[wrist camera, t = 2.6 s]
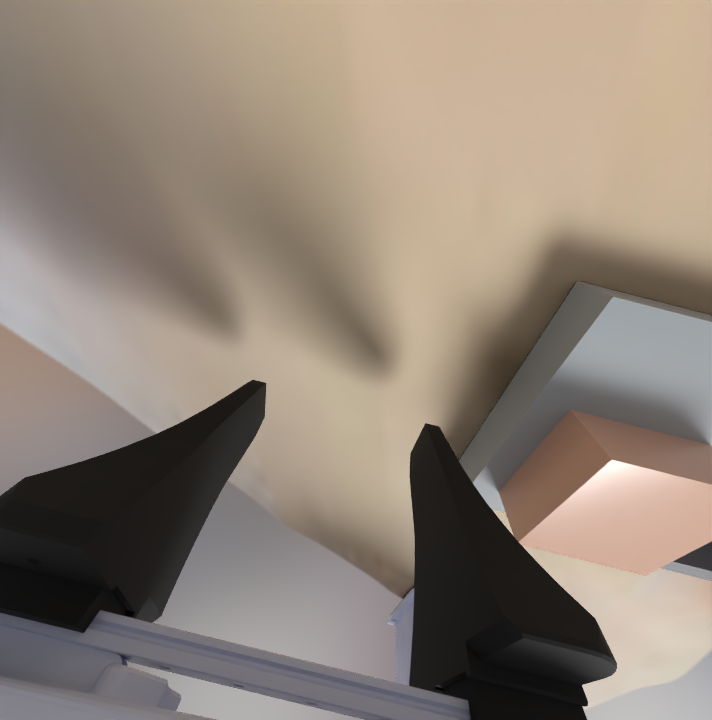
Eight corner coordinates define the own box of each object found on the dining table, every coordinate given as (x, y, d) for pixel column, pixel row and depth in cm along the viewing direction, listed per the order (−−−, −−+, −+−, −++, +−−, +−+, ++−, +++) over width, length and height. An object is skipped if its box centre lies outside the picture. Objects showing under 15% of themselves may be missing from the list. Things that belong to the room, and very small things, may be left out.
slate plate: (607, 508, 17) (631, 543, 15) (452, 470, 17) (459, 500, 15) (825, 344, 10) (909, 372, 9) (577, 280, 10) (613, 296, 9)
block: (607, 519, 14) (645, 575, 12) (498, 491, 14) (516, 543, 12) (710, 444, 11) (785, 503, 9) (570, 409, 11) (611, 459, 9)
